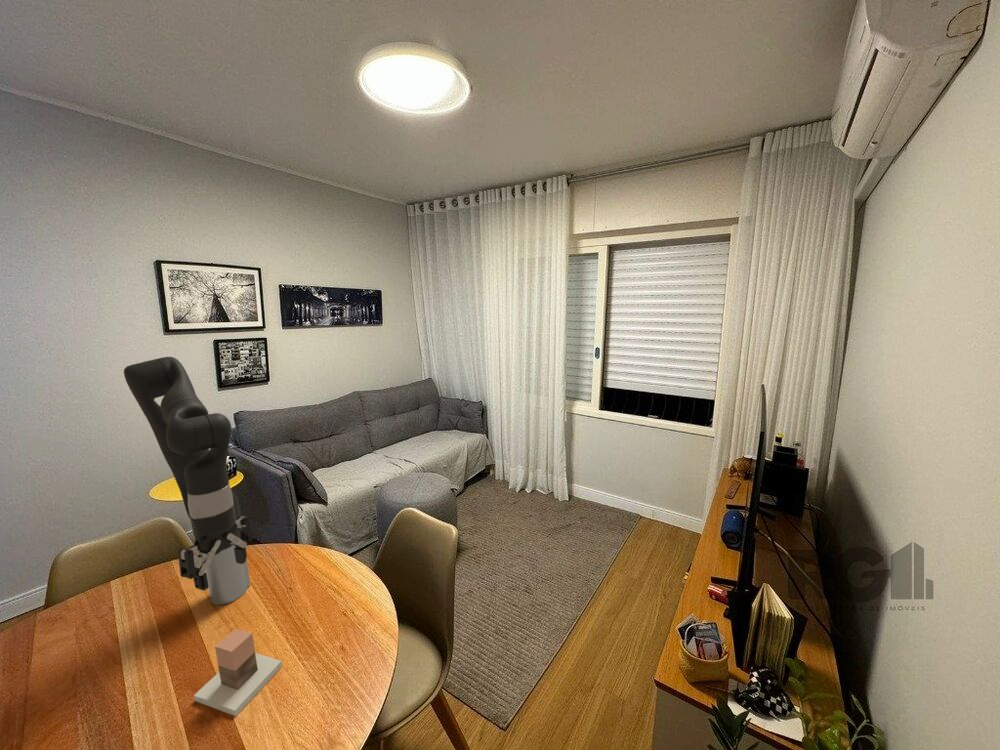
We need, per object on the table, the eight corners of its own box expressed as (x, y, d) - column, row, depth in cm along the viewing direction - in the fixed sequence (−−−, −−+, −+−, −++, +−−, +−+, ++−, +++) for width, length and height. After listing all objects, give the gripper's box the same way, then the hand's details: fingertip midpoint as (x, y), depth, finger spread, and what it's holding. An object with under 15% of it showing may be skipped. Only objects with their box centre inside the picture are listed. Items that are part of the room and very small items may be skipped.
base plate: (244, 654, 96) (243, 649, 96) (282, 666, 92) (281, 660, 92) (194, 700, 85) (193, 695, 84) (235, 716, 81) (234, 710, 81)
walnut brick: (241, 664, 91) (238, 646, 91) (257, 670, 90) (255, 651, 89) (221, 684, 87) (218, 665, 86) (237, 690, 85) (234, 671, 84)
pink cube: (238, 646, 91) (236, 628, 90) (255, 651, 89) (252, 633, 88) (218, 665, 86) (214, 646, 85) (234, 671, 84) (231, 651, 84)
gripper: (230, 489, 89) (240, 552, 91) (162, 522, 75) (175, 595, 78) (255, 493, 86) (264, 557, 89) (189, 528, 73) (202, 602, 76)
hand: (223, 575), depth 84 cm, fingers open, 8 cm apart
